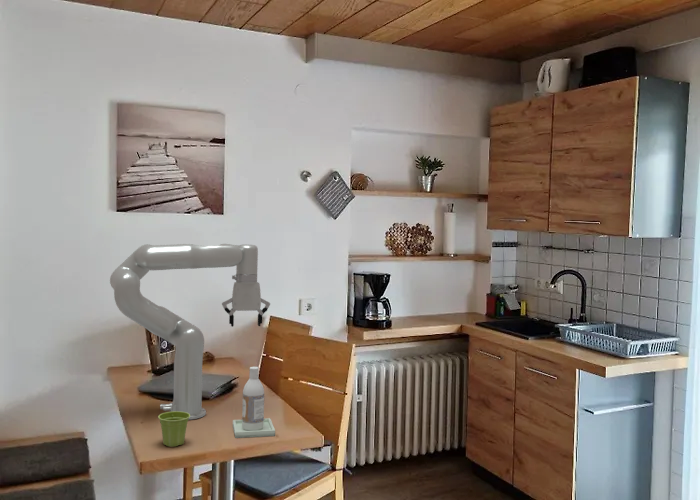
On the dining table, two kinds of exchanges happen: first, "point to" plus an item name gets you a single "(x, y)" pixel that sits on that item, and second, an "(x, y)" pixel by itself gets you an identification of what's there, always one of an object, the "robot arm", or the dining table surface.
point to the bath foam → (253, 402)
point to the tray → (242, 433)
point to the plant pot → (173, 427)
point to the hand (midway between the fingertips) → (245, 325)
